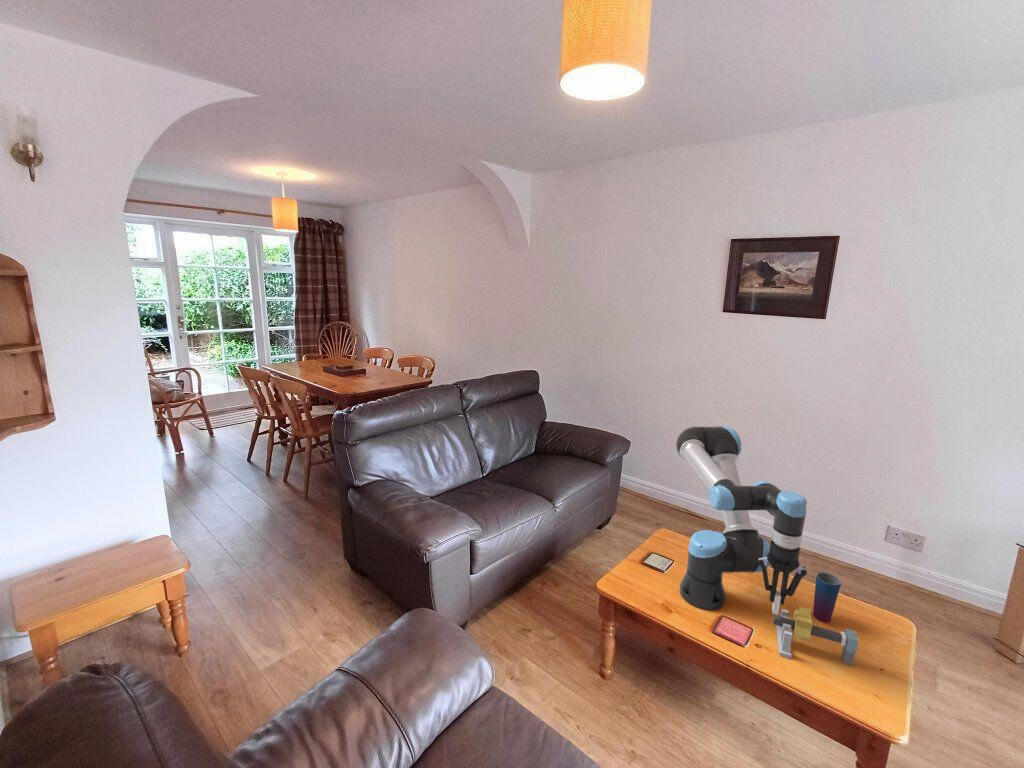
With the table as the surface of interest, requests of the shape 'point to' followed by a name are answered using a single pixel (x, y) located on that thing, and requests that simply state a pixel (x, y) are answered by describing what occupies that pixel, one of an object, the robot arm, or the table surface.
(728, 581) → the table surface
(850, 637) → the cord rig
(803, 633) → the sleeve
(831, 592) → the cup
